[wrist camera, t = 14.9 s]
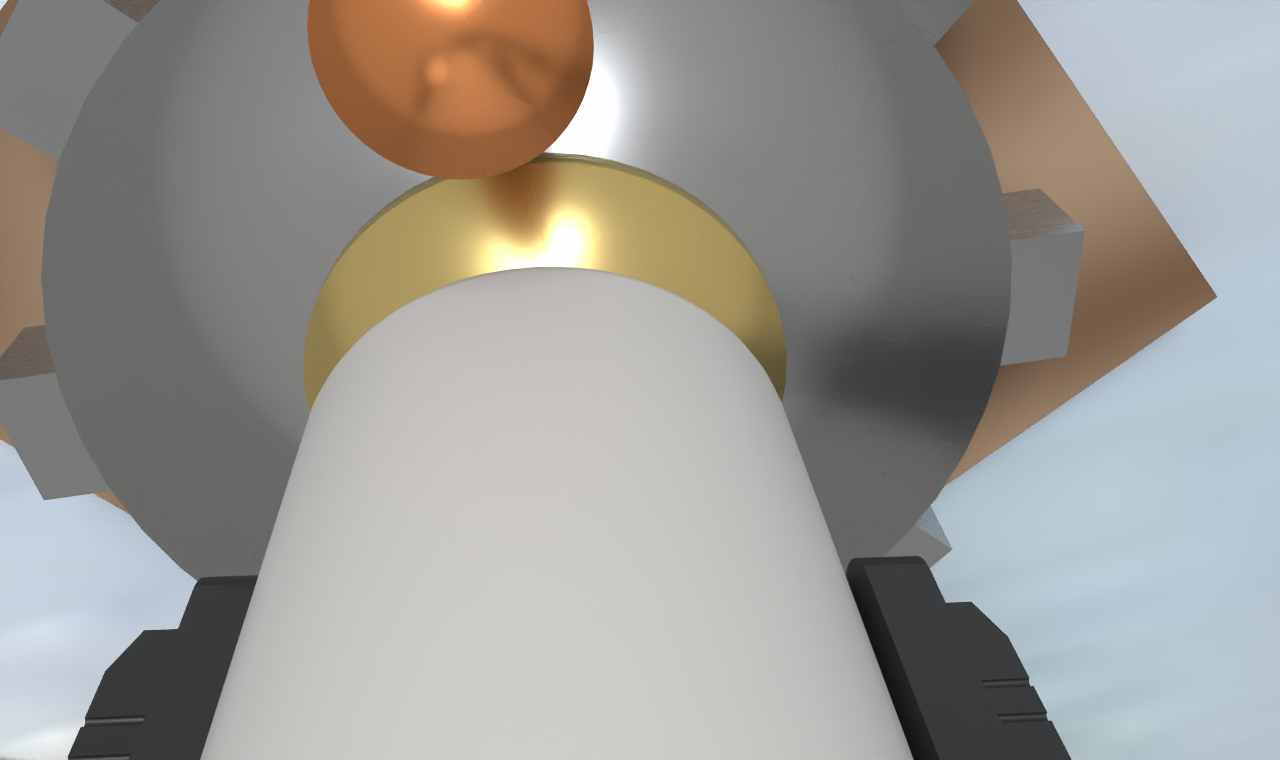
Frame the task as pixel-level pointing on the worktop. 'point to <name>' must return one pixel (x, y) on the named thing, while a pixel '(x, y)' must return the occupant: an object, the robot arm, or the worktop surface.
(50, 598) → the worktop surface
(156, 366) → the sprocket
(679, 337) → the beverage can
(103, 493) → the board
